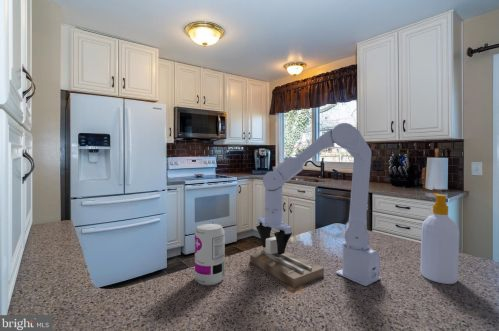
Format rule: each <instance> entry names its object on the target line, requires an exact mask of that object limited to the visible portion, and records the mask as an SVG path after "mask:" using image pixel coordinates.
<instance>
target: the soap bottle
mask: <svg viewBox="0 0 499 331" xmlns="http://www.w3.org/2000/svg"><path fill="white" fill-rule="evenodd" d="M432 196H435V197H436V201H435V202H434V203H433V206H432V214H431V215H428V216H427V218H426V219H424V221H423V222H422V224H421V240H420V242H421V243H420V269H419V272H420V274H421V276H422V277H424V279H427V280H429V281H432V282H436V283H439V284H446V285H447V284H448V285H452V284H457V282H458V277H459V276H458V274H459V273H458V272H459V252H460V251H459V250H460V246H459V245H460V230H459V226H458V225H457V223H456V222H455V221H454V220H453V219H452V217H449V206H448V205H447V202H446V195H444V194H440V193H438V192H437V193H435V192H434V193H433V192H432Z"/></svg>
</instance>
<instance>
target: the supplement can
mask: <svg viewBox="0 0 499 331" xmlns="http://www.w3.org/2000/svg"><path fill="white" fill-rule="evenodd" d="M225 233H226V231H225V229H224V228H223V225H222V224H220V223H216V222H206V223H201V224H198V225H197V226H196V229H195V231H194V280H195V281H196V282H197V284H200V285H202V286H213V285H214V286H215V285H218V284H220V283H221V282H222V280H224V278H225V272H226V271H225V264H226V263H225V262H226V261H225V259H226V258H225V255H226V254H225V251H226V249H225V245H226V243H225V239H226V238H225V236H226V235H225Z"/></svg>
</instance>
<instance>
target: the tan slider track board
mask: <svg viewBox="0 0 499 331" xmlns="http://www.w3.org/2000/svg"><path fill="white" fill-rule="evenodd" d="M249 262H250V264H252V265H254V266H256V267H257V268H259V269H261V270H263V271H264V272H266V273H268V275H269V274H270V275H271V276H273V277H274V278H276V279H278V280H280V281H282V282H284V284H286V285H289V286H290V287H291V288H293V289H296V288H299V287H300V286H303V285H305V284H308V283H309V282H313V281H315V280H318V279H319V278H322V277H324V274H325V273H324V272H325V271H324V270H325V268H324V267H323V266H321V265H319V264H316V263H314V262H312V261H309V260H307V259H306V258H303V257H301V256H298V255H296V254H294V253H291V252H289V251H286V250H285V252H284V254H281V255H278V256H274V255H272V254H271V255H270V254H268V253H266V250H264V249H263V250H261V252H256V253H253V254H252V253H251V254H250V255H249Z"/></svg>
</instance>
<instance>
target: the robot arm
mask: <svg viewBox="0 0 499 331" xmlns="http://www.w3.org/2000/svg"><path fill="white" fill-rule="evenodd" d="M335 144H336V146H339V147H341V148H343V149H345V150H346V151H347V153H348V154H350V156H352V158H353V164H352V166H353V167H352V175H351V178H352V180H351V189H350V202H349V215H348V220H347V222H346V223H345V224H344V231H345V232H344V240H343V241H342V269H339V270H336V271H335V273H336V274H337V275H339V276H341V277H344V278H345V279H346V278H347V280H351V281H352V282H355V283H356V284H360V285H362V286H363V287H364V286H365V287H367V286H369V285H372V284H374V282H377V281H379V280H380V279H382V277H381V276H380V272H381V271H380V268H381V267H380V264H381V259H380V258H381V257H380V253H379V252H378V251H377V250H375V249H373V248H371V244H370V234H369V231H368V226H367V225H368V220H367V218H368V216H367V215H368V213H367V212H368V203H369V202H368V201H369V188H370V176H371V175H370V174H371V164H372V150H371V148H370V146H369V145H368V142H366V140H365V139H364V137H363V135H362V134H361V132H360V130H359V129H357V128H356V127H355V126H353V124H350V123H347V122H341V123H338V124H336V125H335V126H334V127H333V129H332V128H331V129H329V130H327V131H326V132H325V133H323V134H321V135H320V136H319V137H318V138H316V139H315V140H314V141H313V142H311V144H309V145H308V146H307V147H306V148H305V149H303V150H302V151H301V152H300V153H298V154H297V155H290V156H285V157H284V158H283V161H282V162H281V163H280V164H278V165H277V166H273V167H272V171H267V172H266V173H265V174H264V176H263V178H262V185H263V187H264V217H262V216H261V217H257V224H258V225H256V226H255V228H256V231H257V232H258V234H259V237H260V240H261V244H262V247H263V248H266V239H267V238H271V232H272V229H275V230H277V232H274V233H273V234H274V237H276V241H277V251H278V254H279V255H281V254H284V252H285V251H286V248H287V245H288V242H289V240H290V238H291V237H292V235H293V232H292V226H290V225H288V224H287V223H285V222H283V200H284V199H283V198H284V196H283V187H284V185H285V184H286V182H289V181H290V180H291V179H292V178H294V177H295V176H297V175H298V174H299V173H301V172H302V171H303V169H304V168H303V167H304V165H305V163H307V162H308V161H309V160H311V159H312V158H314V157H315V156H316V155H318V154H319V153H321V151H324V150H326V149H330V148H334V147H336V146H335Z"/></svg>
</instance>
